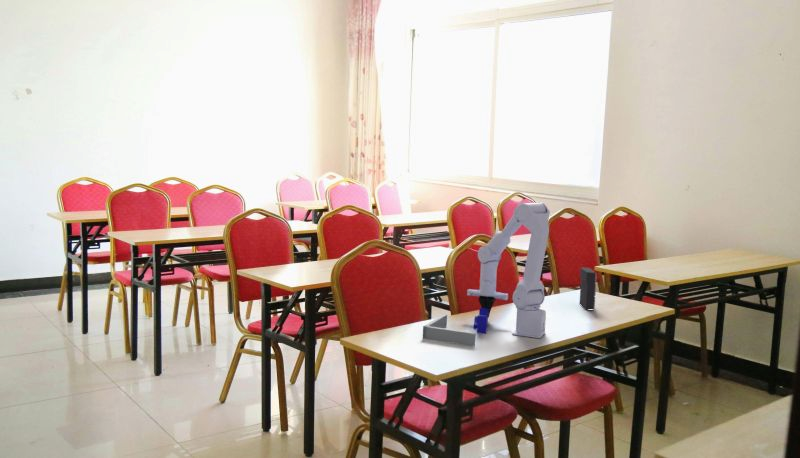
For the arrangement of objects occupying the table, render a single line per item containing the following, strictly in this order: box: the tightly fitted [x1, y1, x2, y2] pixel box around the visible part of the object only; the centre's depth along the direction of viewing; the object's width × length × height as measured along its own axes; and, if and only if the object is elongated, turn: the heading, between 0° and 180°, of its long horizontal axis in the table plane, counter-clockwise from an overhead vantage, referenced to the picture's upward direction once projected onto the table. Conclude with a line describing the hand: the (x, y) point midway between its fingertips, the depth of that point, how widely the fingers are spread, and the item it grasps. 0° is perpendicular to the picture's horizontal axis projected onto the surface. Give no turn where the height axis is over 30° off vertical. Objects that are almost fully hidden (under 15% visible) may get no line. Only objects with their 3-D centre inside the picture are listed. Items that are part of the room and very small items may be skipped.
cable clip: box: [473, 307, 489, 335], centre depth 250 cm, size 12×4×6 cm, turn 170°
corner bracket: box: [422, 313, 476, 347], centre depth 241 cm, size 17×19×4 cm
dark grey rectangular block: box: [579, 267, 597, 310], centre depth 288 cm, size 11×4×15 cm, turn 179°
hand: (486, 317), depth 261 cm, fingers closed
